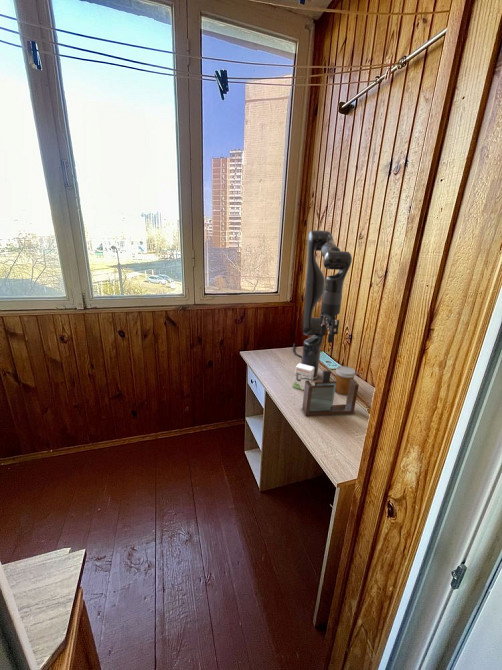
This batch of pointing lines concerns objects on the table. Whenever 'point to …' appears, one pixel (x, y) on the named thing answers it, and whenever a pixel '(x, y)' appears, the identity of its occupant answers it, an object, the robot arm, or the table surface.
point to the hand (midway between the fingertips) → (326, 338)
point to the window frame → (327, 399)
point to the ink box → (303, 375)
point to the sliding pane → (327, 382)
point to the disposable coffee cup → (344, 378)
